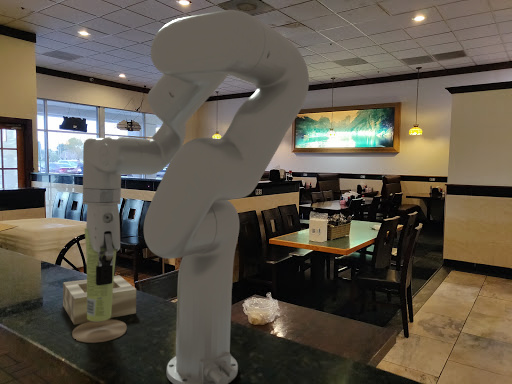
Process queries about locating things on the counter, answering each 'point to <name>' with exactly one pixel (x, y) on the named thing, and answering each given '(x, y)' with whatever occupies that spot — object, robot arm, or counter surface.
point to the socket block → (78, 299)
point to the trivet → (99, 331)
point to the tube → (97, 287)
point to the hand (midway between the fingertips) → (100, 279)
